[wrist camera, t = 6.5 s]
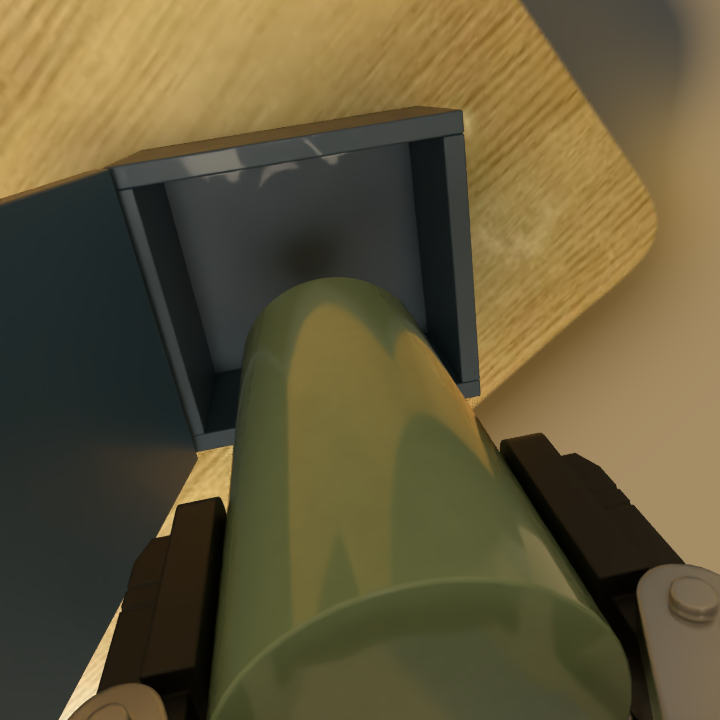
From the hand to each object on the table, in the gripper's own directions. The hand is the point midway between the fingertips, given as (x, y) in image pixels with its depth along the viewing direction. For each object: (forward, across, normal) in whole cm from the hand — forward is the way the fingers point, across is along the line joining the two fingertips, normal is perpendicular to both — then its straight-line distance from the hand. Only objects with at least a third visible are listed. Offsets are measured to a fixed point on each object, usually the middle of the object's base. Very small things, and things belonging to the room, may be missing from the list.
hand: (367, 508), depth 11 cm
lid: (+6, +7, 0) cm, 9 cm away
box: (+20, 0, 0) cm, 20 cm away
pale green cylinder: (+6, 0, 0) cm, 6 cm away
